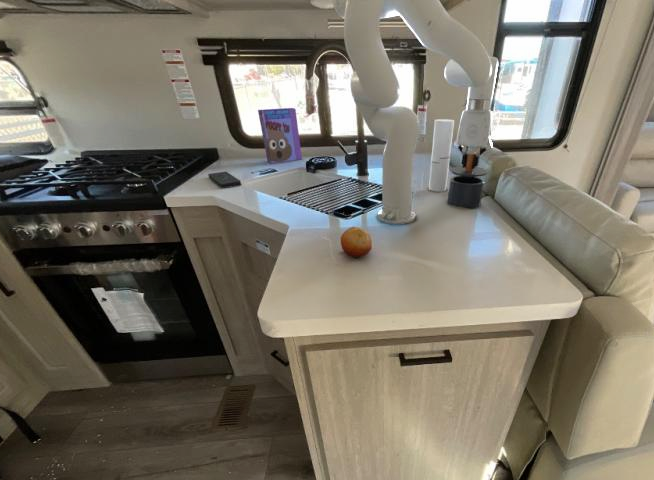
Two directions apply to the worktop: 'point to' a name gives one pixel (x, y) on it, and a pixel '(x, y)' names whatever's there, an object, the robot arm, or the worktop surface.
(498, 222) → the worktop surface
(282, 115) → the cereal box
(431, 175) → the white tall block
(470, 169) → the lid
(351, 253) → the fruit
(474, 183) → the pot
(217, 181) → the smart home device
